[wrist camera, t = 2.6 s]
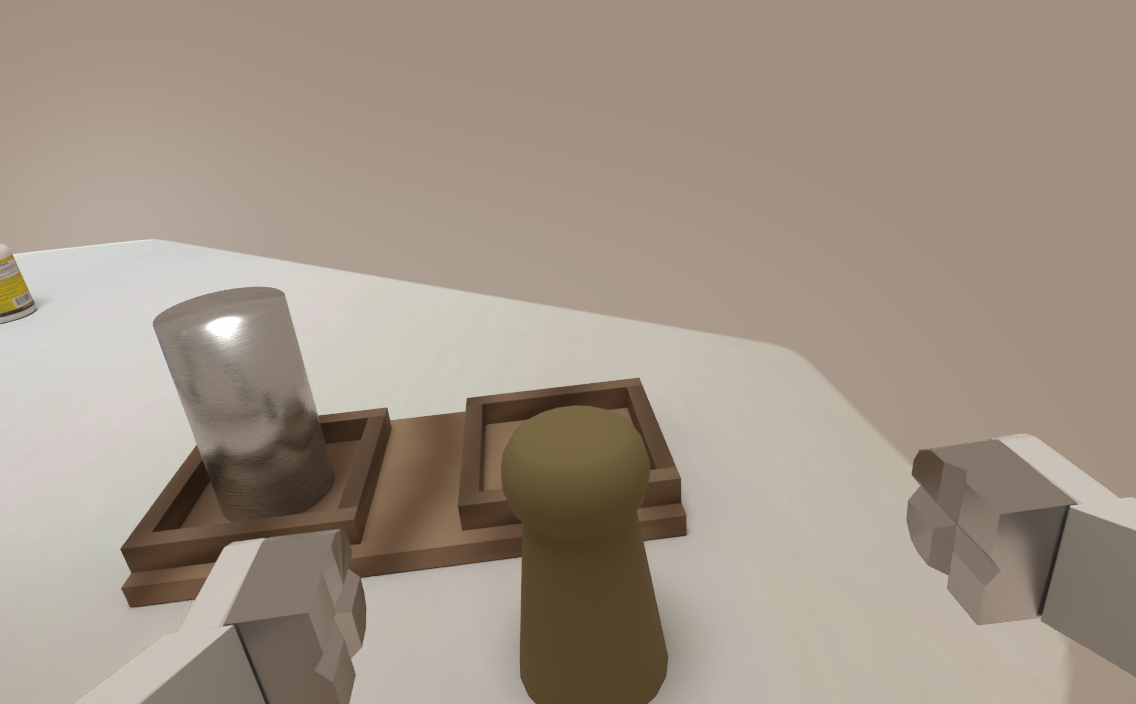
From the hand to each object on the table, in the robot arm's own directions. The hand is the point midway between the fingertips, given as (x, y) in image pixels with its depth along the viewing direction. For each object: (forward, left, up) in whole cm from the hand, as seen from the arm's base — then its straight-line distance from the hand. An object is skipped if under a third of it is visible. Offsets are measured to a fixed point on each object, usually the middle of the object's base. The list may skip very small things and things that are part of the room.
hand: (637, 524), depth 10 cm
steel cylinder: (-16, +25, -15) cm, 34 cm away
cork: (0, +12, -17) cm, 21 cm away
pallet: (-8, +25, -17) cm, 31 cm away
